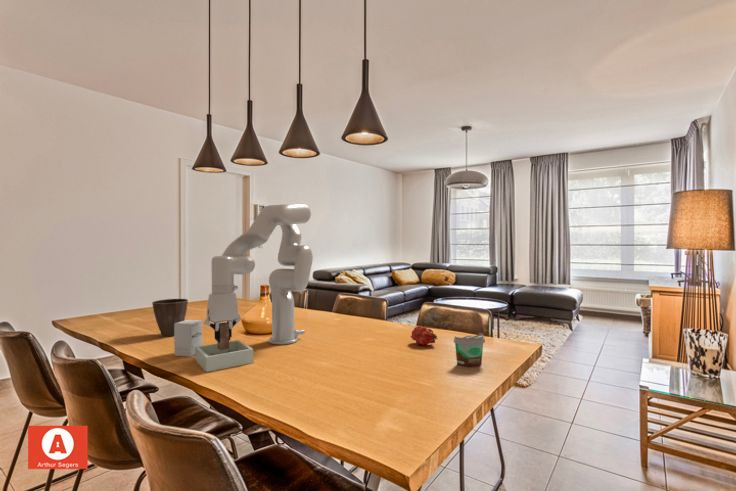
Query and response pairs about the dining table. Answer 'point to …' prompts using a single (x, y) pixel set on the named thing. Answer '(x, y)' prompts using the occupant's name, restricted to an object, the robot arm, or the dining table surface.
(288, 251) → the robot arm
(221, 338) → the walnut timber post
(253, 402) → the dining table surface
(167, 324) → the plant pot
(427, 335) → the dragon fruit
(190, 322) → the supplement box
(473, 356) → the food container
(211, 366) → the pale green tray
